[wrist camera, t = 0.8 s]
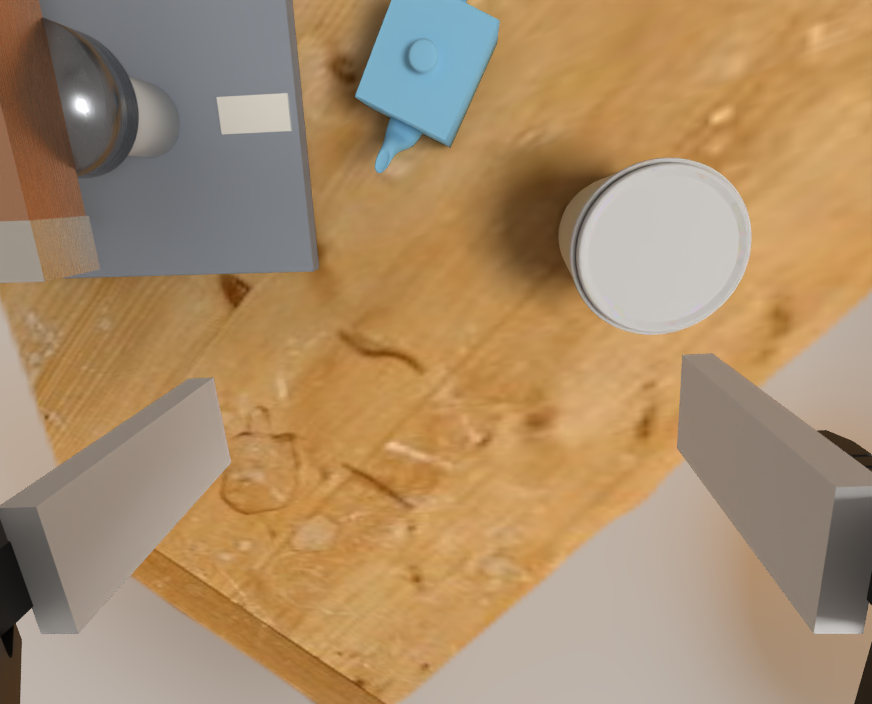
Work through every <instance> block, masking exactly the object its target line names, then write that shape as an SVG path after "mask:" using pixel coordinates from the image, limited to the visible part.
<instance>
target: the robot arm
mask: <svg viewBox="0 0 872 704" xmlns="http://www.w3.org/2000/svg"><path fill="white" fill-rule="evenodd" d="M677 449H678V450H679V451H680V453H681V454H682V455H683V457H684V458H685V459H686V461H687V462H688V463H689V465H690V466H691V468H692V469H693V470H694V472H695V473H696V474H697V476H698V477H699V478H700V480H701V481H702V483H703V484H704V485H705V487H706V488H707V489H708V491H709V492H710V493H711V495H712V496H713V498H714V499H715V500H716V501H717V503H718V504H719V506H720V507H721V508H722V510H723V511H724V512H725V514H726V515H727V516H728V518H729V519H730V521H731V522H732V523H733V525H734V526H735V527H736V529H737V530H738V531H739V533H740V534H741V535H742V537H743V538H744V540H745V541H746V542H747V544H748V545H749V546H750V547H751V549H752V550H753V552H754V553H755V555H756V556H757V557H758V559H759V560H760V561H761V563H762V564H763V565H764V567H765V568H766V570H767V571H768V572H769V573H770V575H771V576H772V578H773V579H774V580H775V582H776V583H777V584H778V586H779V587H780V589H781V590H782V591H783V592H784V594H785V595H786V597H787V598H788V599H789V601H790V602H791V604H792V605H793V606H794V608H795V609H796V610H797V612H798V613H799V614H800V616H801V617H802V618H803V620H804V621H805V623H806V624H807V625H808V627H809V628H810V629H811V631H812V632H813V633H814V634H830V633H831V634H862V633H863V631H864V626H865V620H866V615H867V610H868V604H869V603H870V604H871V605H872V455H871V454H870V453H869V452H868V451H866V450H865V449H863V448H862V447H861V446H859V445H858V444H856V443H855V442H853V441H851V440H849V439H846V438H844V437H841V436H839V435H836V434H834V433H831V432H829V431H827V430H824V431H822V430H821V431H816V430H815V429H813V428H812V427H811V426H809V425H808V424H807V423H805V422H804V421H803V420H801V419H800V418H799V417H797V416H796V415H795V414H793V413H792V412H790V411H789V410H788V409H786V408H785V407H784V406H782V405H781V404H780V403H778V402H777V401H776V400H774V399H773V398H772V397H770V396H769V395H767V394H766V393H765V392H764V391H762V390H761V389H760V388H758V387H757V386H756V385H754V384H753V383H751V382H750V381H749V380H747V379H746V378H745V377H743V376H742V375H741V374H739V373H738V372H737V371H735V370H734V369H733V368H731V367H730V366H729V365H727V364H726V363H725V362H723V361H722V360H720V359H719V358H718V357H716V356H715V355H714V354H712V353H711V354H690V355H682V370H681V388H680V406H679V424H678V441H677ZM230 463H231V460H230V455H229V450H228V445H227V440H226V436H225V431H224V426H223V421H222V416H221V412H220V407H219V402H218V397H217V392H216V388H215V383H214V378H194V379H187V380H186V381H184V382H183V383H181V384H180V385H178V386H177V387H175V388H174V389H172V390H171V391H169V392H168V393H167V394H165V395H164V396H162V397H161V398H159V399H158V400H156V401H155V402H153V403H152V404H150V405H149V406H147V407H146V408H144V409H143V410H141V411H140V412H138V413H137V414H135V415H134V416H132V417H131V418H129V419H128V420H126V421H125V422H123V423H122V424H120V425H119V426H117V427H116V428H114V429H113V430H111V431H110V432H108V433H107V434H106V435H104V436H103V437H101V438H100V439H98V440H97V441H95V442H94V443H92V444H91V445H89V446H88V447H86V448H85V449H83V450H82V451H80V452H79V453H77V454H76V455H74V456H73V457H71V458H70V459H68V460H67V461H65V462H64V463H62V464H61V465H59V466H58V467H56V468H55V469H53V470H52V471H50V472H49V473H48V474H46V475H45V476H43V477H42V478H40V479H39V480H37V481H36V482H34V483H33V484H31V485H30V486H28V487H27V488H25V489H24V490H22V491H21V492H19V493H18V494H16V495H15V496H13V497H12V498H10V499H9V500H7V501H6V502H4V503H3V504H1V505H0V704H20V683H21V682H20V681H21V648H22V639H21V636H20V634H19V631H18V628H17V626H16V622H17V621H18V620H19V619H20V618H21V617H22V616H23V615H25V614H26V613H27V612H28V611H29V610H30V609H31V608H32V609H33V612H34V615H35V618H36V620H37V623H38V626H39V629H40V632H41V633H42V634H78V633H79V632H80V631H81V630H82V629H83V628H84V627H85V626H86V625H87V624H88V622H89V621H90V620H91V619H92V618H93V617H94V616H95V614H96V613H97V612H98V611H99V610H100V609H101V608H102V607H103V606H104V605H105V603H106V602H107V601H108V600H109V599H110V598H111V597H112V596H113V594H114V593H115V592H116V591H117V590H118V589H119V588H120V586H121V585H122V584H123V583H124V582H125V581H126V580H127V579H128V578H129V576H130V575H131V574H132V573H133V572H134V571H135V570H136V569H137V567H138V566H139V565H140V564H141V563H142V562H143V561H144V560H145V559H146V557H147V556H148V555H149V554H150V553H151V552H152V551H153V550H154V548H155V547H156V546H157V545H158V544H159V543H160V542H161V541H162V539H163V538H164V537H165V536H166V535H167V534H168V533H169V532H170V530H171V529H172V528H173V527H174V526H175V525H176V524H177V523H178V522H179V520H180V519H181V518H182V517H183V516H184V515H185V514H186V513H187V511H188V510H189V509H190V508H191V507H192V506H193V505H194V504H195V502H196V501H197V500H198V499H199V498H200V497H201V496H202V495H203V493H204V492H205V491H206V490H207V489H208V488H209V487H210V486H211V484H212V483H213V482H214V481H215V480H216V479H217V478H218V477H219V476H220V474H221V473H222V472H223V471H224V470H225V469H226V468H227V467H228V465H229V464H230ZM854 704H872V643H871V647H870V650H869V654H868V657H867V661H866V664H865V668H864V671H863V675H862V679H861V682H860V685H859V689H858V693H857V696H856V700H855V703H854Z"/></svg>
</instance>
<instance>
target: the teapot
mask: <svg viewBox="0 0 872 704" xmlns="http://www.w3.org/2000/svg"><path fill="white" fill-rule="evenodd" d="M466 1H467V0H391V3H390V5H389V8H388V10H387V13H386V16H385V18H384V21H383V23H382V26H381V29H380V31H379V34H378V36H377V39H376V42H375V44H374V47H373V50H372V52H371V55H370V58H369V60H368V63H367V65H366V68H365V71H364V73H363V76H362V79H361V81H360V84H359V86H358V89H357V92H356V94H355V97H356V98H357V99H359V100H360V101H361V102H363V103H364V104H366V105H367V106H369V107H370V108H371V109H373V110H375V111H377V112H379V113H381V114H383V115H385V116H387V117H389V118H390V121H389V124H388V127H387V130H386V133H385V139H384V142H383V145H382V147H381V149H380V151H379V153H378V155H377V158H376V162H375V170H376V172H377V173H382V172H383V171H384V170H385V169H386V168H387V167H388V165H389V164H390V162H391V160H392V159H393V157H394V156H395V155H396V154H397V153H398V152H400V151H403V150H406V149H408V148H410V147H412V146H413V145H414V144H415V143H416V142H417V141H418V140H419V138H420V137H421V135H422V134H424V135H426V136H428V137H430V138H432V139H434V140H436V141H438V142H440V143H442V144H444V145H446V146H448V147H450V148H451V146H452V143H453V141H454V139H455V137H456V134H457V132H458V130H459V128H460V125H461V123H462V121H463V119H464V117H465V114H466V112H467V110H468V108H469V105H470V103H471V101H472V99H473V96H474V94H475V92H476V90H477V87H478V85H479V83H480V81H481V78H482V76H483V74H484V72H485V69H486V67H487V65H488V63H489V60H490V58H491V56H492V54H493V51H494V49H495V47H496V45H497V39H498V30H499V22H500V20H498V19H496V18H494V17H492V16H490V15H488V14H486V13H484V12H482V11H481V10H479V9H477V8H475V7H473V6H471V5H469V4H467V3H466Z"/></svg>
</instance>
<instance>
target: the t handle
mask: <svg viewBox="0 0 872 704" xmlns="http://www.w3.org/2000/svg"><path fill="white" fill-rule="evenodd" d="M138 124H139V111H138V103H137V98H136V94H135V91H134V88H133V85H132V82H131V80H130V78H129V76H128V74H127V72H126V71H125V69H124V67H123V66H122V64H121V63H120V62H119V60H118V59H117V58H116V57H115V55H114V54H113V53H112V52H111V51H110V50H109V49H108V48H107V47H105V46H104V45H103V44H102V43H100V42H99V41H97V40H96V39H94V38H93V37H91V36H89V35H87V34H85V33H82V32H80V31H77V30H75V29H72V28H69V27H67V26H64V25H61V24H59V23H56V22H54V21H51V20H48V19H46V18H43V17H42V12H41V8H40V3H39V0H0V283H17V282H46V281H50V280H55V279H59V278H64V277H68V276H73V275H77V274H82V273H86V272H91V271H95V270H100V265H99V261H98V256H97V252H96V247H95V242H94V238H93V233H92V228H91V224H90V219H89V216H86V214H85V210H84V205H83V201H82V196H81V191H80V187H79V182H78V178H94V177H98V176H102V175H104V174H107V173H109V172H111V171H112V170H114V169H115V168H117V167H118V166H119V165H120V164H121V163H122V162H123V161H124V160H125V159H126V157H127V156H128V155H129V153H130V151H131V149H132V147H133V145H134V142H135V140H136V136H137V132H138Z"/></svg>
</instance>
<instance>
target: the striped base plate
mask: <svg viewBox="0 0 872 704" xmlns="http://www.w3.org/2000/svg"><path fill="white" fill-rule="evenodd" d="M39 3H40V8H41V12H42V17H43V18H46V19H48V20H51V21H54V22H56V23H59V24H61V25H64V26H67V27H69V28H72V29H75V30H77V31H80V32H82V33H85V34H87V35H89V36H91V37H93V38H94V39H96V40H97V41H99V42H100V43H102V44H103V45H104V46H105V47H107V48H108V49H109V50H110V51H111V52H112V53H113V54H114V55H115V57H116V58H117V59H118V60H119V62H120V63H121V64H122V66H123V67H124V69H125V71H126V72H127V74H128V76H129V78H130V80H131V82H132V85H133V88H134V91H135V94H136V98H137V103H138V111H139V124H138V132H137V136H136V140H135V142H134V145H133V147H132V149H131V151H130V153H129V155H128V156H127V157H126V159H125V160H124V161H123V162H122V163H121V164H120V165H119V166H118V167H117V168H115V169H114V170H112V171H111V172H109V173H107V174H104V175H102V176H98V177H94V178H78V182H79V187H80V191H81V196H82V201H83V205H84V210H85V214H86V216H89V219H90V224H91V228H92V233H93V238H94V242H95V247H96V252H97V256H98V261H99V265H100V270H95V271H91V272H86V273H82V274H77V275H73V276H68V277H64V278H90V277H126V276H163V275H199V274H235V273H272V272H308V271H315V270H317V269H319V262H318V252H317V242H316V232H315V222H314V212H313V202H312V192H311V182H310V172H309V162H308V152H307V142H306V132H305V122H304V112H303V102H302V92H301V82H300V72H299V62H298V52H297V42H296V32H295V22H294V12H293V2H292V0H39Z"/></svg>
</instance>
